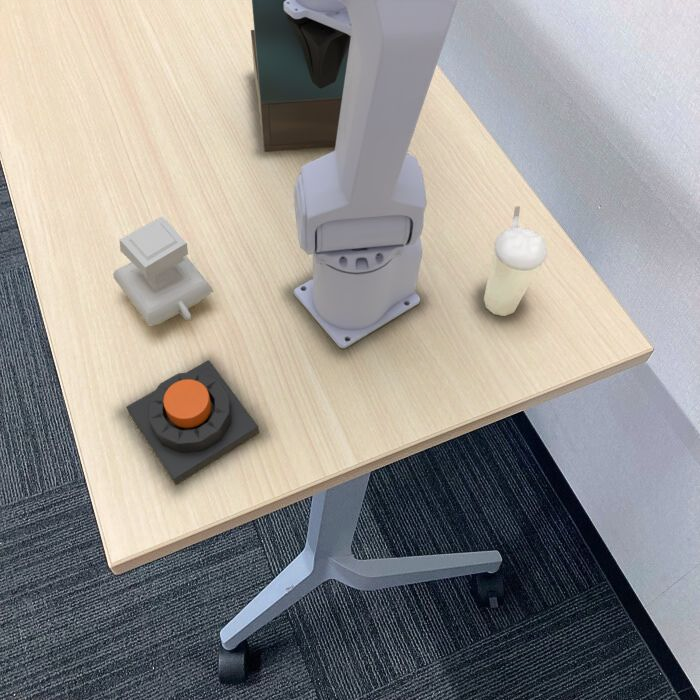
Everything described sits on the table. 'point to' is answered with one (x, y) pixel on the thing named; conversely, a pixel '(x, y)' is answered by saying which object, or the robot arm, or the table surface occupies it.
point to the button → (187, 403)
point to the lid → (285, 58)
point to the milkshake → (513, 267)
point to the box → (297, 120)
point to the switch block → (198, 442)
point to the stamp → (160, 273)
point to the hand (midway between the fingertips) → (324, 81)
